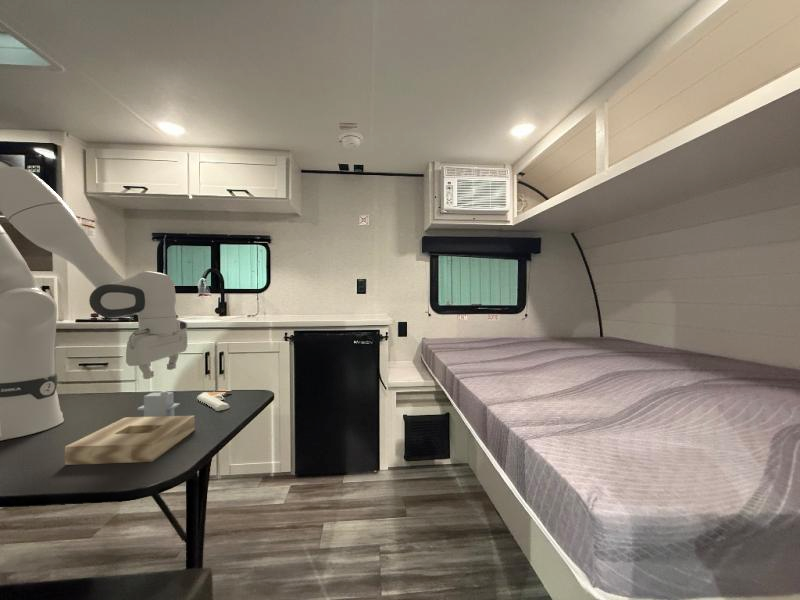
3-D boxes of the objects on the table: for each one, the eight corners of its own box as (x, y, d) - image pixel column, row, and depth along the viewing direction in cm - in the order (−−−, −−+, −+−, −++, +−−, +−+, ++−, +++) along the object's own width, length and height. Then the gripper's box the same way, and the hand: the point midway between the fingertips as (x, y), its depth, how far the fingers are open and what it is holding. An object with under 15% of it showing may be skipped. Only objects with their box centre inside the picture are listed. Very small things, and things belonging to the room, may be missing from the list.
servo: (137, 424, 88) (137, 393, 88) (146, 419, 91) (145, 390, 91) (172, 423, 89) (172, 393, 88) (179, 418, 92) (179, 389, 92)
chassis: (65, 464, 67) (64, 446, 67) (125, 432, 83) (125, 417, 82) (152, 461, 68) (152, 443, 68) (194, 429, 84) (194, 415, 84)
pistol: (252, 403, 106) (217, 413, 97) (225, 392, 118) (192, 400, 109) (252, 396, 106) (217, 406, 97) (225, 386, 118) (192, 393, 109)
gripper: (142, 331, 79) (145, 384, 80) (190, 322, 99) (192, 364, 100) (116, 332, 79) (119, 385, 79) (170, 323, 99) (172, 365, 100)
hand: (160, 373), depth 90 cm, fingers open, 8 cm apart
